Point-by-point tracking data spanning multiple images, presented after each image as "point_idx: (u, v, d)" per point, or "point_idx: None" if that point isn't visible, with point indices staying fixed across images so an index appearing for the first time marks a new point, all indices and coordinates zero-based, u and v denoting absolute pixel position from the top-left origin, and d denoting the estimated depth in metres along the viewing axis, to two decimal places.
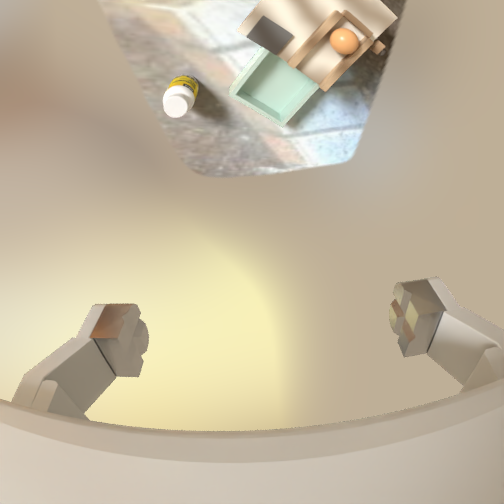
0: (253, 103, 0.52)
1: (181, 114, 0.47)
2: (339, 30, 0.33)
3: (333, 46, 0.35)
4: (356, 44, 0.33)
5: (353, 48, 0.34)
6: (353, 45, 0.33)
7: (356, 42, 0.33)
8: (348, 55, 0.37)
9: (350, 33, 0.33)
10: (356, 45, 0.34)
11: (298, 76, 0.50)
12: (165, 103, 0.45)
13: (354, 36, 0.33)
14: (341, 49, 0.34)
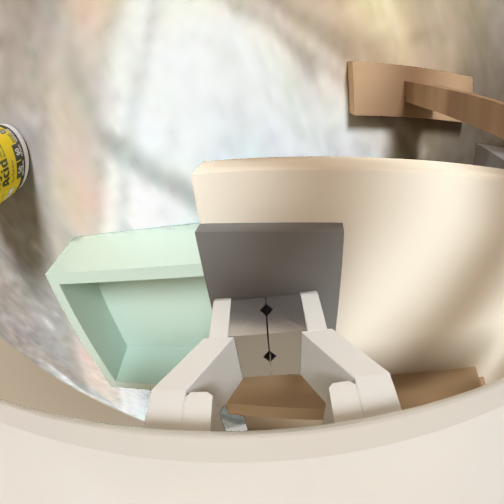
0: (86, 320, 0.19)
1: None
2: None
3: None
4: None
5: None
6: None
7: None
8: None
9: None
10: None
11: None
12: None
13: None
14: None
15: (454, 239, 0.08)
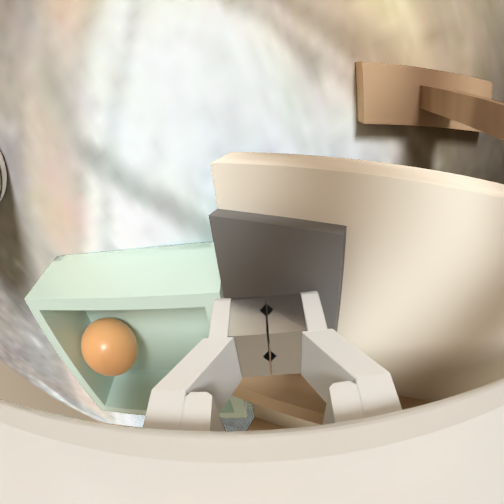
0: (70, 345, 0.17)
1: None
2: (88, 327, 0.18)
3: None
4: None
5: None
6: None
7: None
8: None
9: None
10: None
11: None
12: None
13: None
14: None
15: (467, 262, 0.07)
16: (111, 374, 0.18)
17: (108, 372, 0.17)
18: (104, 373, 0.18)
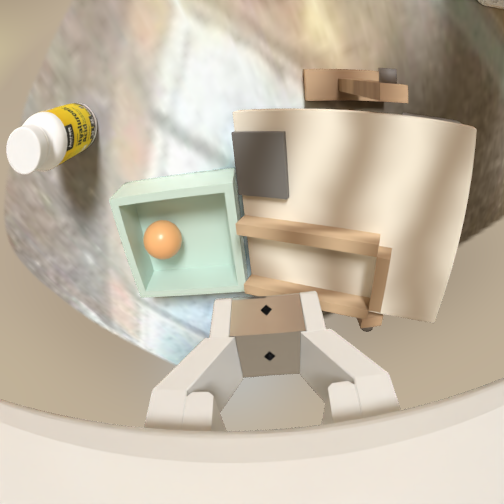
0: (131, 237, 0.30)
1: (21, 170, 0.20)
2: (149, 226, 0.30)
3: None
4: None
5: None
6: None
7: None
8: (320, 293, 0.26)
9: (143, 237, 0.31)
10: None
11: (221, 249, 0.34)
12: (16, 131, 0.18)
13: None
14: None
15: (335, 140, 0.20)
16: (170, 252, 0.30)
17: (169, 250, 0.30)
18: (166, 252, 0.30)
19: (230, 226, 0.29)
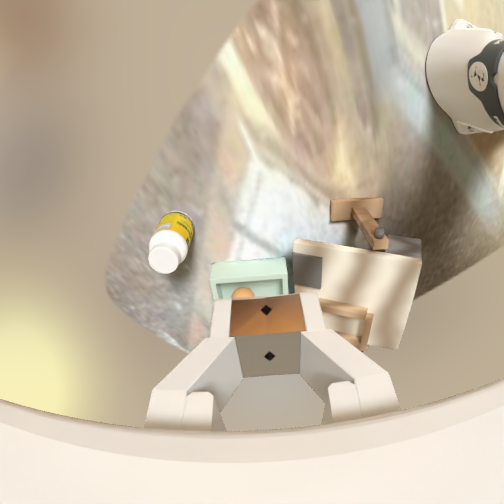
0: None
1: (160, 271, 0.40)
2: (237, 293, 0.50)
3: None
4: None
5: None
6: None
7: None
8: None
9: None
10: None
11: None
12: (158, 249, 0.38)
13: None
14: None
15: (348, 264, 0.40)
16: None
17: None
18: None
19: None
